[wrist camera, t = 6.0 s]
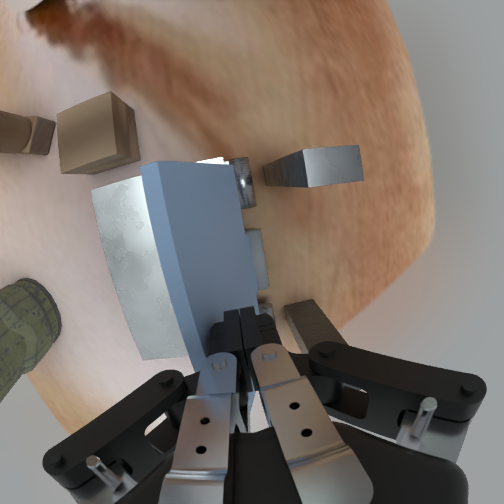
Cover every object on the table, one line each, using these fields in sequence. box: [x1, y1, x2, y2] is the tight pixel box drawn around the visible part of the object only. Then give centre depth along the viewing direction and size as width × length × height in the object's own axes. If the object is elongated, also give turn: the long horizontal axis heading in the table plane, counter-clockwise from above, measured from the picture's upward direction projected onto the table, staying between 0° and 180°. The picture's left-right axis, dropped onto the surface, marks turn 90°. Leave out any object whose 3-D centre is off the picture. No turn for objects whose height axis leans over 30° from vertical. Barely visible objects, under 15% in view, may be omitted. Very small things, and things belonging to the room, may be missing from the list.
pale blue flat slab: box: [140, 161, 270, 411], centre depth 17 cm, size 16×14×2 cm
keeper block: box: [57, 91, 140, 175], centre depth 18 cm, size 5×5×6 cm
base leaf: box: [91, 145, 364, 390], centre depth 19 cm, size 18×19×12 cm
